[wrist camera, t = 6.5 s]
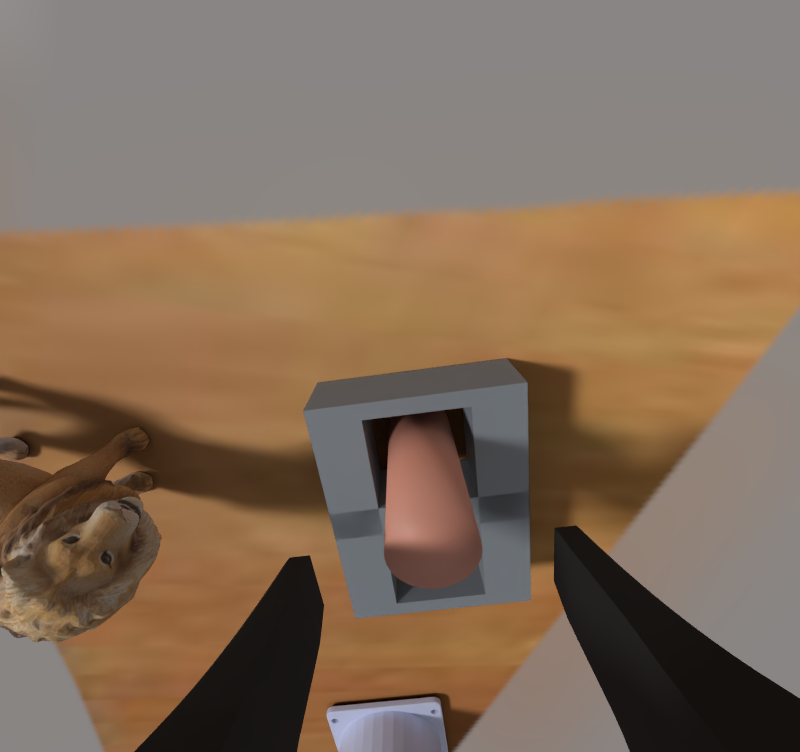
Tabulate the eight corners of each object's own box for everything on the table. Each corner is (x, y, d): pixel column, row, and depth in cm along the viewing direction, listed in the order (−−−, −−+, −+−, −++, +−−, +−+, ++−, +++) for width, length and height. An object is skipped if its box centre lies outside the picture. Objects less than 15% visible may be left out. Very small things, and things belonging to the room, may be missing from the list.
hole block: (513, 553, 22) (530, 600, 19) (360, 569, 22) (355, 618, 20) (506, 358, 18) (527, 382, 15) (317, 382, 18) (303, 410, 15)
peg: (451, 448, 20) (485, 583, 12) (393, 455, 20) (391, 593, 12) (445, 394, 18) (479, 506, 11) (384, 403, 19) (376, 519, 11)
